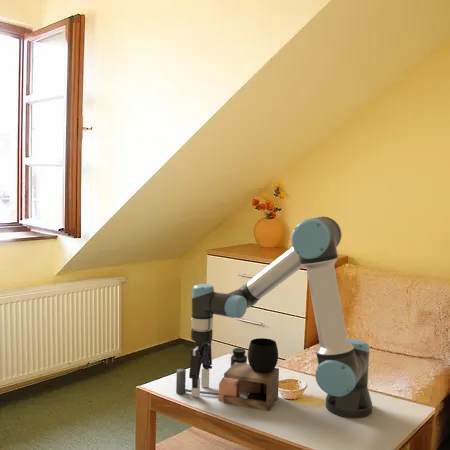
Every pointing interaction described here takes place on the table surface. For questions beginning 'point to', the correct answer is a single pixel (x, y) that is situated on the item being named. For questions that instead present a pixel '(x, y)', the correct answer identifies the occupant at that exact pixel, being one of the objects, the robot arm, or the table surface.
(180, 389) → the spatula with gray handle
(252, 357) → the black goblet
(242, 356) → the pill bottle
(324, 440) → the table surface
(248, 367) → the shelf
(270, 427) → the table surface
